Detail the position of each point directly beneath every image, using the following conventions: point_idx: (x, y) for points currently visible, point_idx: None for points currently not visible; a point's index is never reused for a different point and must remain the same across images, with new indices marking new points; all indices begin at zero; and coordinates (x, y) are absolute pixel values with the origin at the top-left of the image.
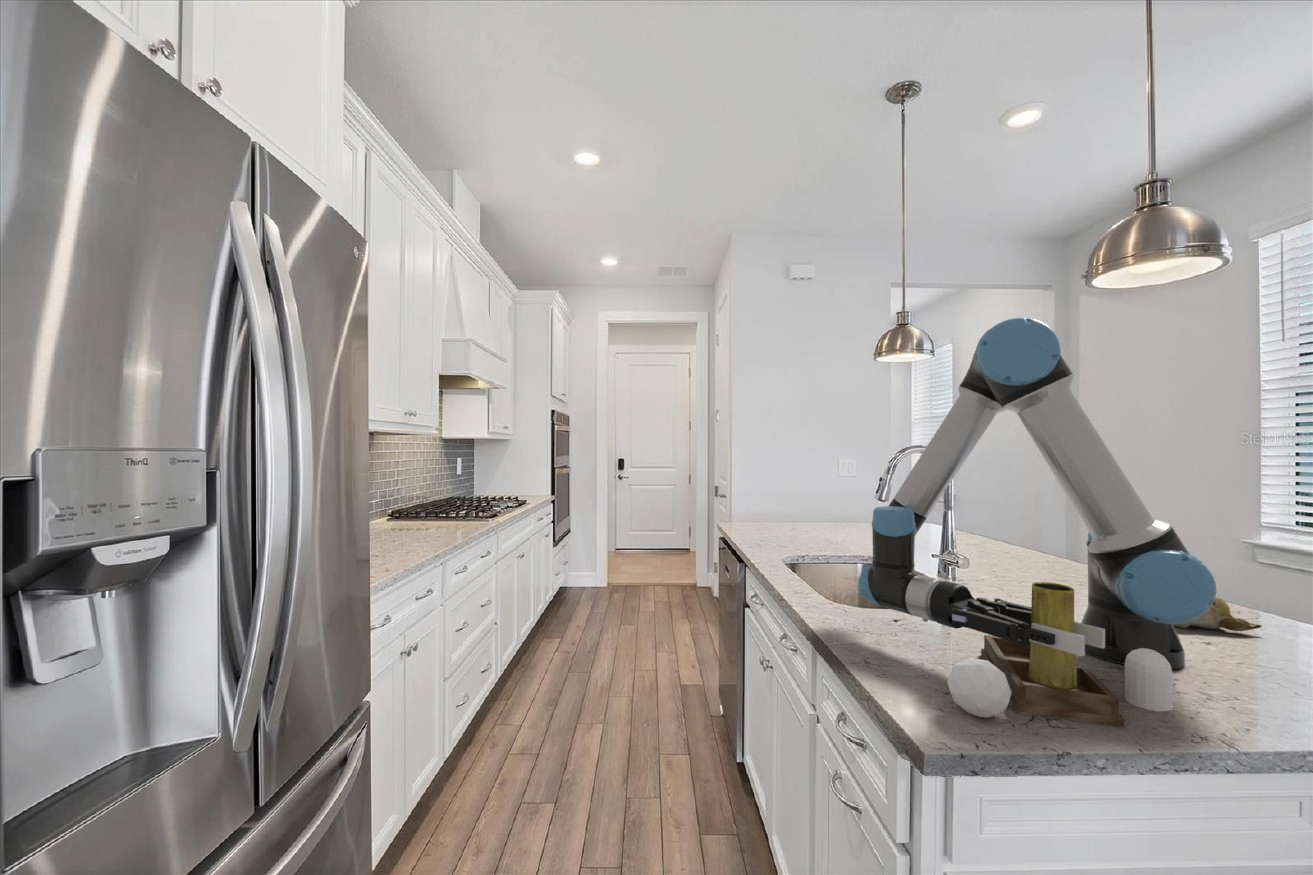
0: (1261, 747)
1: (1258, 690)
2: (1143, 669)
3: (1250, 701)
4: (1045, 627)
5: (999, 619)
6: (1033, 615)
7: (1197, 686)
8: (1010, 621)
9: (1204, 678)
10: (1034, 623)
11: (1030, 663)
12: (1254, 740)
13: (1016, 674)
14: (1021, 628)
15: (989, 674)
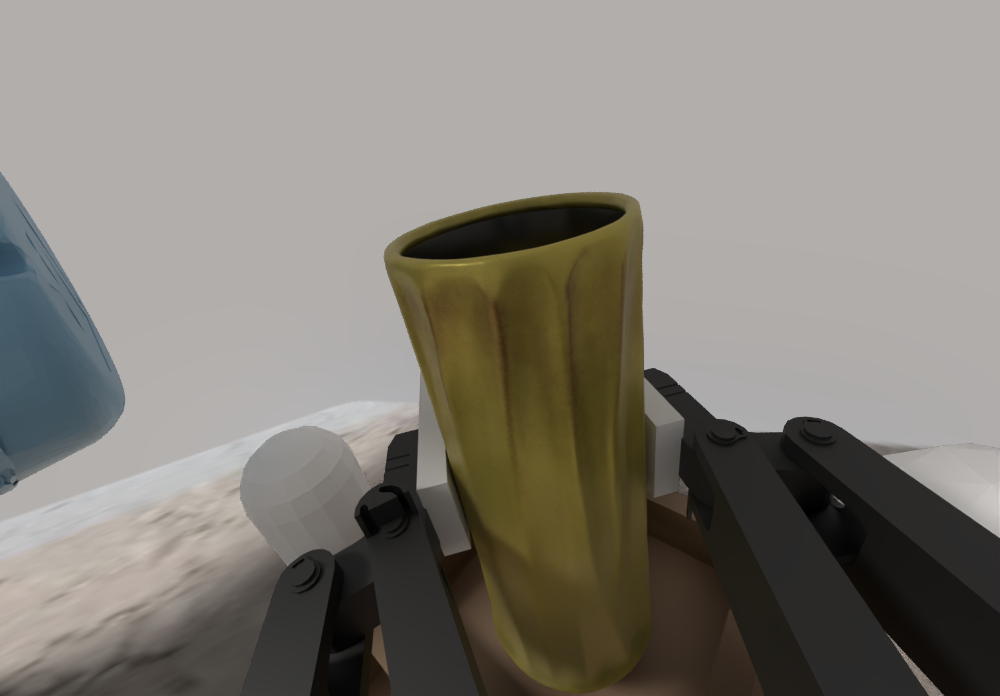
0: (401, 404)
1: (69, 532)
2: (351, 457)
3: (168, 501)
4: (645, 379)
5: (913, 533)
6: (626, 430)
7: (107, 584)
8: (797, 509)
9: (6, 619)
10: (663, 418)
11: (625, 632)
12: (381, 416)
13: (725, 637)
14: (758, 436)
15: (981, 447)
